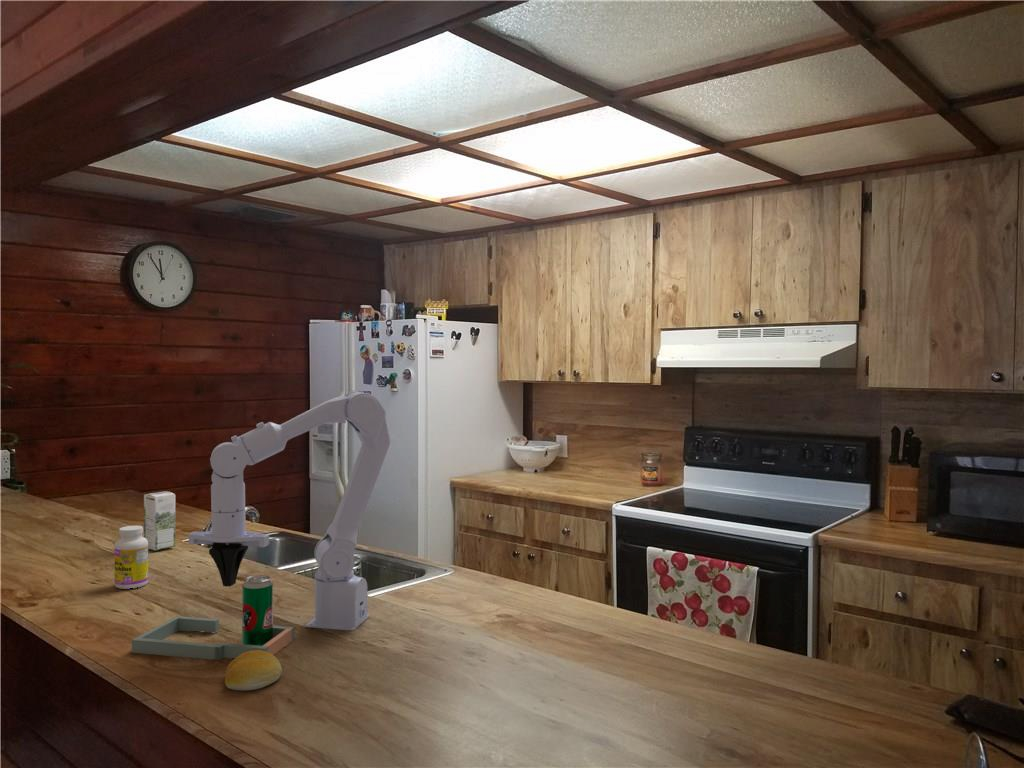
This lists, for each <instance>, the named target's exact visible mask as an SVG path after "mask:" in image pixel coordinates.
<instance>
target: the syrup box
mask: <svg viewBox="0 0 1024 768" xmlns="http://www.w3.org/2000/svg"><path fill="white" fill-rule="evenodd" d="M176 498H177V497H176V494H175V493H173V492H171V491H167V490H165V491H158V492H152V493H145V494H143V537H144V538H146V539H147V541H148V550H152V551H159V550H164V549H169V548H173V547H176Z"/></svg>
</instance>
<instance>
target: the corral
mask: <svg viewBox="0 0 1024 768" xmlns="http://www.w3.org/2000/svg"><path fill="white" fill-rule="evenodd" d="M219 622H220V621H219V618H208V617H207V618H206V617H197V616H196V617H195V616H181V615H176V616H174V617H173V618H170V619H168V620H166V621H164V622H163V623H161V624H159V625H158V626H155V627H153V628H152V629H150V630H148V631H146V632H144V633H142V634H140V635H138V636H136V637H134V638H132V640H131V653H132V654H144V655H153V656H154V655H157V656H167V657H177V658H179V657H180V658H190V659H191V658H193V659H200V660H201V659H203V660H213V659H215V660H216V661H221V660H222V658H223V659H232V658H236V657H237V656H239V655H241V654H242V653H245V652H248V651H254V650H262V651H266V652H269V653H271V654H273V655H274V656H275V655H276V654H277V653H278V652H280V651H281V650H282V649H283V647H284V648H285V647H286V646H287V645H289V644H290V643H292V642H293V641H294V640H295V627H294V626H284V625H283V626H282V625H273V639H271V640H270V641H269V642H267V643H266V644H264V645H263V646H258V645H246V644H242V643H232V642H220V643H219V644H213V643H205V642H204V643H201V642H193V641H192V642H190V641H179V640H178V641H177V640H167V639H166V638H168V637H170V636H171V635H173V634H175V633H177V632H190V631H204V632H217V631H218V630H219V631H220V629H219V627H220V626H219ZM217 633H218V632H217ZM224 657H225V658H224ZM215 660H214V661H215Z"/></svg>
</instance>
